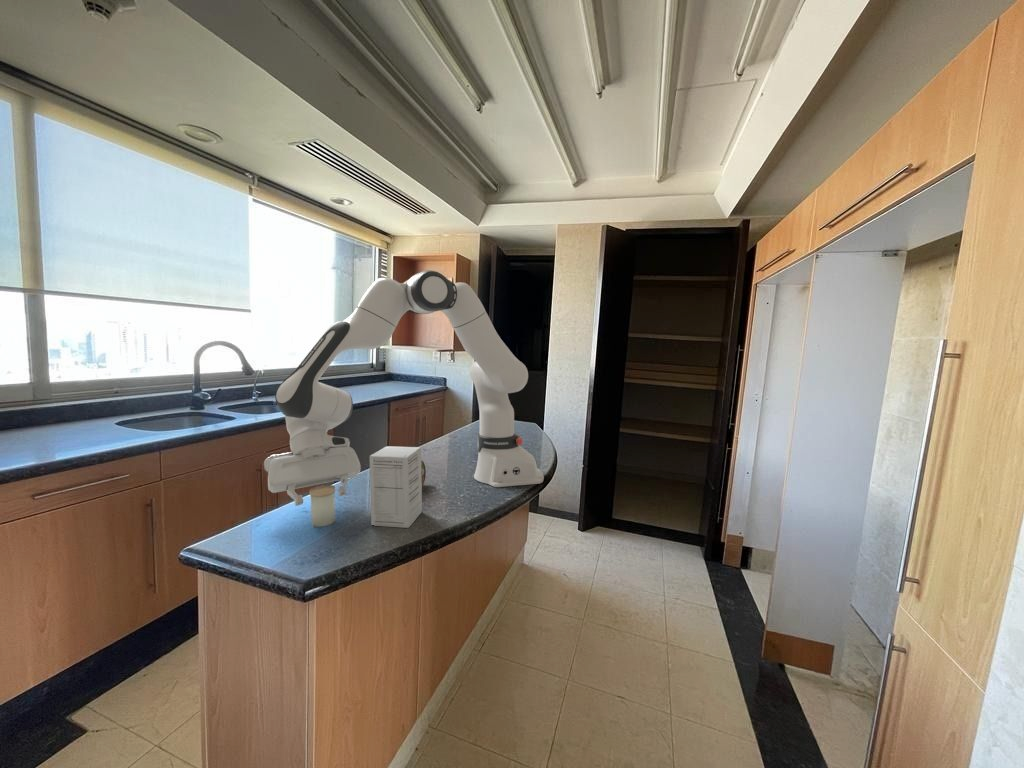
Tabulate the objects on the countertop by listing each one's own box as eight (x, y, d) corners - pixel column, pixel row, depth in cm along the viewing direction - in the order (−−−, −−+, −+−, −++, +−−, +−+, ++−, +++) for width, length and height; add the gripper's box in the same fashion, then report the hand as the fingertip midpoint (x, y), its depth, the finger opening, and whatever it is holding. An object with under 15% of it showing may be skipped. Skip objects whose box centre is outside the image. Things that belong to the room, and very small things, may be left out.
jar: (339, 516, 93) (338, 484, 92) (330, 526, 87) (329, 493, 86) (316, 516, 92) (315, 485, 91) (306, 527, 87) (305, 493, 86)
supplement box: (423, 511, 96) (423, 446, 94) (409, 528, 87) (408, 457, 85) (387, 509, 97) (386, 445, 96) (369, 525, 88) (368, 455, 86)
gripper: (263, 449, 88) (271, 503, 81) (354, 437, 101) (368, 483, 94) (261, 463, 91) (269, 516, 85) (350, 450, 104) (362, 495, 98)
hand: (321, 499), depth 90 cm, fingers open, 8 cm apart
